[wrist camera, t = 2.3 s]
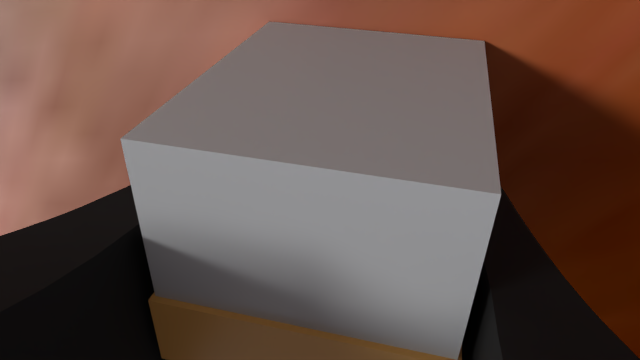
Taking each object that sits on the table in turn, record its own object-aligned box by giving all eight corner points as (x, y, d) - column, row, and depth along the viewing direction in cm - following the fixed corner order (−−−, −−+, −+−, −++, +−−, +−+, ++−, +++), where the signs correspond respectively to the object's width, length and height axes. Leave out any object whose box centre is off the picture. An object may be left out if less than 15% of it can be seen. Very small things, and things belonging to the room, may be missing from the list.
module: (487, 41, 9) (508, 200, 5) (436, 287, 12) (421, 513, 8) (267, 21, 10) (110, 141, 5) (275, 258, 13) (182, 448, 9)
